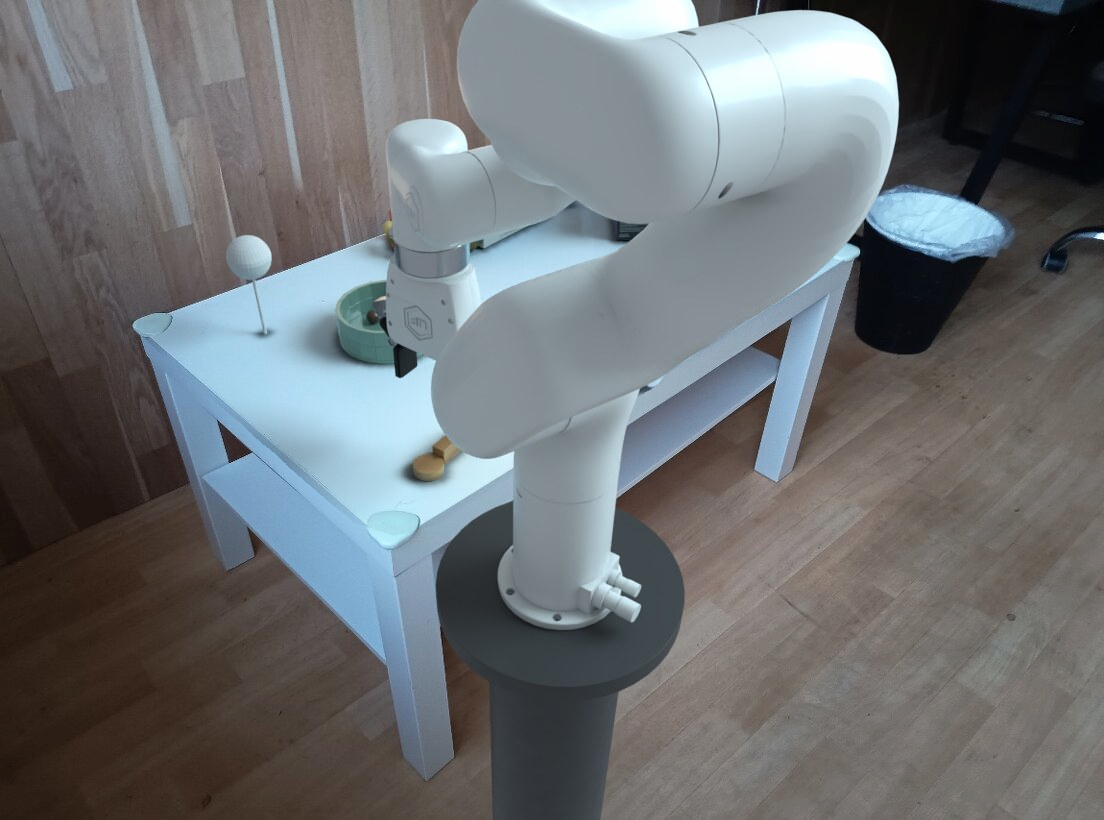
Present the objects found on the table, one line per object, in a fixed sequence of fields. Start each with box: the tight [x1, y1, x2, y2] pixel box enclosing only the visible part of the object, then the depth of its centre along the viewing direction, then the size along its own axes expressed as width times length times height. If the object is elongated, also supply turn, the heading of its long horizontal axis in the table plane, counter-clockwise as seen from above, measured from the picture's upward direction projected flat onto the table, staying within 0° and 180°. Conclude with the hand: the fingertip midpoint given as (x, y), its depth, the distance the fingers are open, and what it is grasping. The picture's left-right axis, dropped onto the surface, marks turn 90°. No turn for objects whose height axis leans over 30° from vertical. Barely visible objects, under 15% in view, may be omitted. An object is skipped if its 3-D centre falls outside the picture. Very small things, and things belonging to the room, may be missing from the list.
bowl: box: [334, 279, 423, 365], centre depth 122 cm, size 14×14×5 cm
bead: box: [366, 310, 380, 324], centre depth 125 cm, size 2×2×2 cm
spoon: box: [412, 434, 462, 482], centre depth 103 cm, size 4×10×2 cm, turn 144°
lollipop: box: [225, 234, 273, 335], centre depth 119 cm, size 6×6×15 cm
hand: (439, 387), depth 98 cm, fingers open, 9 cm apart
